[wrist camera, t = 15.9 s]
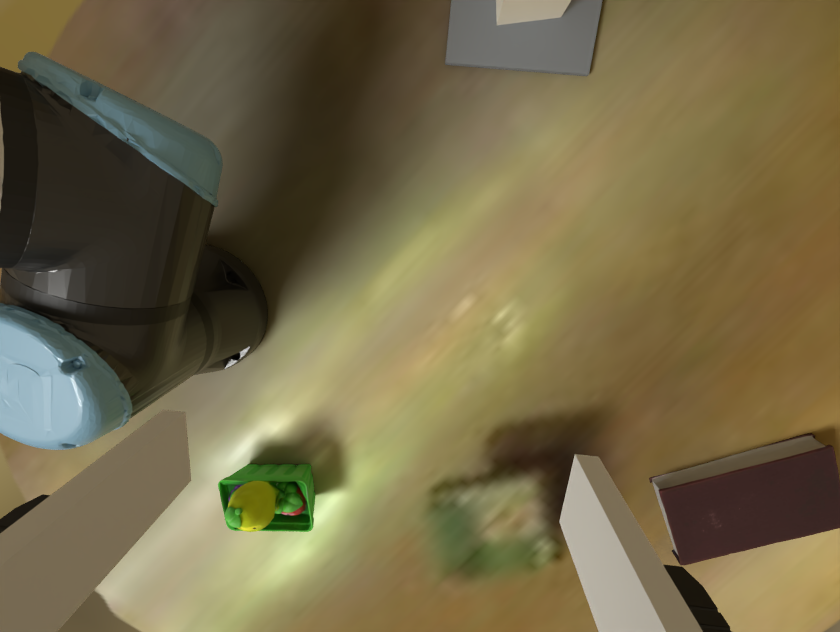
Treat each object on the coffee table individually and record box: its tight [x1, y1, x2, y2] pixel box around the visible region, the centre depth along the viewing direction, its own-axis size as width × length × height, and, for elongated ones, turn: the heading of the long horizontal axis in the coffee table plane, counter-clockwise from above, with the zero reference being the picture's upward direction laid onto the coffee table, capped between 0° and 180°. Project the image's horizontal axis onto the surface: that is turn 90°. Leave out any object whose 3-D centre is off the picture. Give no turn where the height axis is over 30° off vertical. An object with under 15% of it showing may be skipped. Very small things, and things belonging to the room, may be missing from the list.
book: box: [649, 433, 840, 565], centre depth 50 cm, size 12×19×3 cm, turn 112°
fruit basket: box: [218, 464, 315, 532], centre depth 50 cm, size 11×9×11 cm
